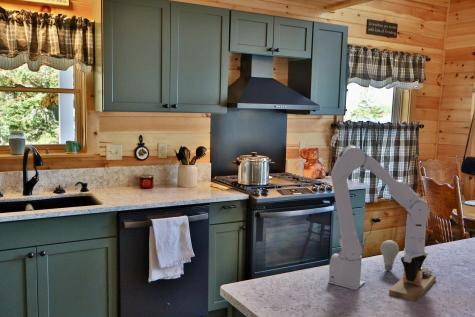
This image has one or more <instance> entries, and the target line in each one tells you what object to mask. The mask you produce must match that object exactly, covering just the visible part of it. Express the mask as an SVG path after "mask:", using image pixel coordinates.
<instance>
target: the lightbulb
mask: <svg viewBox="0 0 475 317" xmlns="http://www.w3.org/2000/svg"><path fill="white" fill-rule="evenodd" d="M379 248H380V253H381V255H382V257H383V263H384V270H385V271H386V272H390V271H393V265H394V264H395V263H394V262H395V259H396V258H397V256H398V254H399V252H400V247H399V245H398V243H397V242H396V241H394V240H391V239H386V240H384V241H383V242H382V243H381V244H380V247H379Z"/></svg>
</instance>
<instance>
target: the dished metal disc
mask: <svg viewBox="0 0 475 317" xmlns="http://www.w3.org/2000/svg"><path fill="white" fill-rule="evenodd" d="M421 269H423V271H422V274H425V273H427V272H428V271H429V268H428V267H425V266H422V267H421Z"/></svg>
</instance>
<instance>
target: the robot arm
mask: <svg viewBox="0 0 475 317" xmlns="http://www.w3.org/2000/svg"><path fill="white" fill-rule="evenodd" d="M360 168H361V169H362V170H366V171H370V172H371V173H372V174H374V176H376V177H377V179H379V180H380V181H381V182H383V184H384V185H385V186H387V189H388V194H389V195H390V196H391V197H392V198H393V199H394V200H395V201H396V202H397V203H398V204H399V205H400V206H401V207H403V208H405V211H406V212H407V214H406V215H407V217H406V224H405V225H406V226H405V236H404V237H405V239H404V248H403V256H401V257H400V262H401V264H402V265H403V270H404V269H405V274H406V279H407V280H408V281H412V282H414V280H415V276H416V272H417V269H418V268H421V267H423V264H424V263H425V262H424V261H425V260H426V259H427V256H429V251H426V249H425V248H426V234H427V233H426V232H427V231H426V230H427V217H428V216H429V215H430V212H431V209H430V207H429V204H428V203H427V202H426V201H425V200H424V199H422V197H421V194H420V193H418V192H415V191H414V190H413V189H412V188H411V187H410V183H409V182H408V181H404V180H402V179H395V178H394V177H393V176H392V175H391V174H390V173H389V172H388V171H387V170H386V169H385V168H384V167H383V166H382V165H381V163H379V162H378V161H377V160H376V158H374V157H372V156H371V155H369V154H368V153H366V152H365V151H363V150H362V149H361V148H359V147H358V146H356V145H353V144H350V145H347V146H345V147H344V148H343V149H342V150H341V151H340V152H339V154H338V155H337V158H336V161H335V163H334V164H333V167H332V170H331V172H330V176H331V183H332V188H333V193H334V194H333V195H334V200H335V204H336V205H335V206H336V211H337V217H338V224H339V231H340V237H339V240H338V244H339V246H340V249H341V250H340V251H339V252H338V253H337V252H336V253H333V254H332V255H331V257H330V260H329V266H328V267H329V270H328V280H327V283H328V284H332V285H336V286H340V287H344V288H347V289H350V290H354V291H355V290H358V289H359V288H360V287H361V286H362V285H364V284H365V282H366V281H365V280H361V278H362V277H361V275H362V274H361V273H362V258H363V257H362V254H363V250H364V249H363V246H362V244H361V242H360V240H359V237H358V234H357V230H356V226H355V221H354V220H355V219H354V213H353V208H352V201H351V195H350V191H349V190H350V188H349V184H348V178H349V176H350V175H352V173H353V172H354V171H356V170H357V169H360Z"/></svg>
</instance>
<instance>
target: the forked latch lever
mask: <svg viewBox="0 0 475 317" xmlns="http://www.w3.org/2000/svg"><path fill="white" fill-rule="evenodd" d="M422 271H423V269H421V268H418V269H417V272H416V276H415V280H414V282H412V281H408V280H407V279H406V274H405V269H404V268H403V274H402V275H403V277H402V278H403V282H405V283H408V284H412V285H417V286H420V285H421V284H422V277H427V278H428V276H429V275H432V273H433V270H431V269H428V272H427V273H426V274H422Z"/></svg>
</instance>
